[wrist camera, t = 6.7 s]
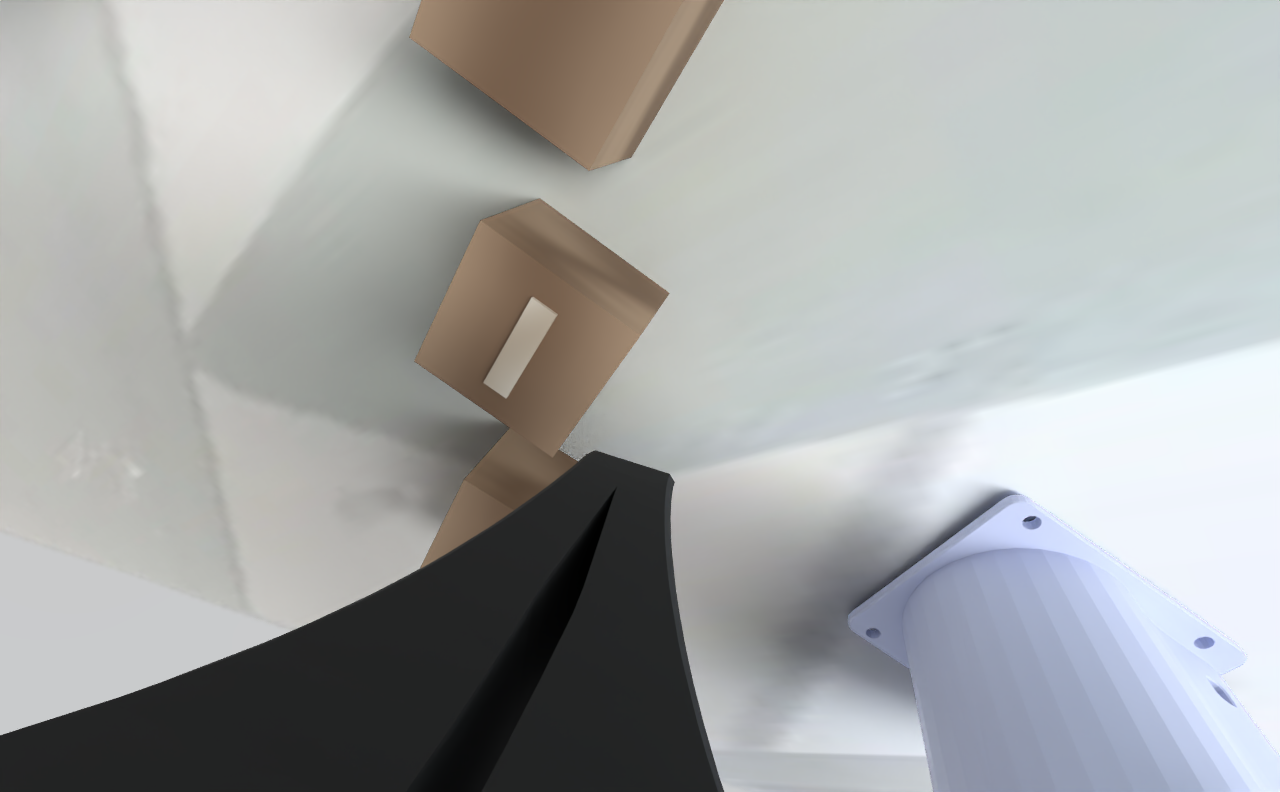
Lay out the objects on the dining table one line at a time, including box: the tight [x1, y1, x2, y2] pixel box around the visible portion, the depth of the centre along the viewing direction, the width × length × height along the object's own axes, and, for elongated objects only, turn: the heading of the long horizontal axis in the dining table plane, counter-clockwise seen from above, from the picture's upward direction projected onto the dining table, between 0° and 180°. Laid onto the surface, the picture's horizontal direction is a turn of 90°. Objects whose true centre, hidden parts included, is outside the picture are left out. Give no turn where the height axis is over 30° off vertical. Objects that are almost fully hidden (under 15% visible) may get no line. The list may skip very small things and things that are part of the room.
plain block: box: [409, 0, 724, 171], centre depth 14 cm, size 5×5×4 cm
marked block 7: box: [420, 428, 578, 568], centre depth 22 cm, size 5×5×4 cm
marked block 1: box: [414, 199, 669, 457], centre depth 18 cm, size 5×5×4 cm
